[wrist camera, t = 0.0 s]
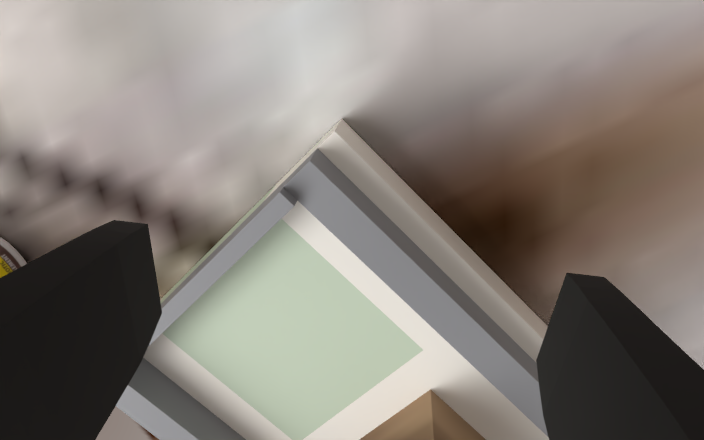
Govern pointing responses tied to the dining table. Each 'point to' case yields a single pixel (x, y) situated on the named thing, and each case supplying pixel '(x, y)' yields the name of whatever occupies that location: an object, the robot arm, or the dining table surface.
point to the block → (425, 423)
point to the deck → (337, 318)
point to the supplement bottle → (9, 258)
